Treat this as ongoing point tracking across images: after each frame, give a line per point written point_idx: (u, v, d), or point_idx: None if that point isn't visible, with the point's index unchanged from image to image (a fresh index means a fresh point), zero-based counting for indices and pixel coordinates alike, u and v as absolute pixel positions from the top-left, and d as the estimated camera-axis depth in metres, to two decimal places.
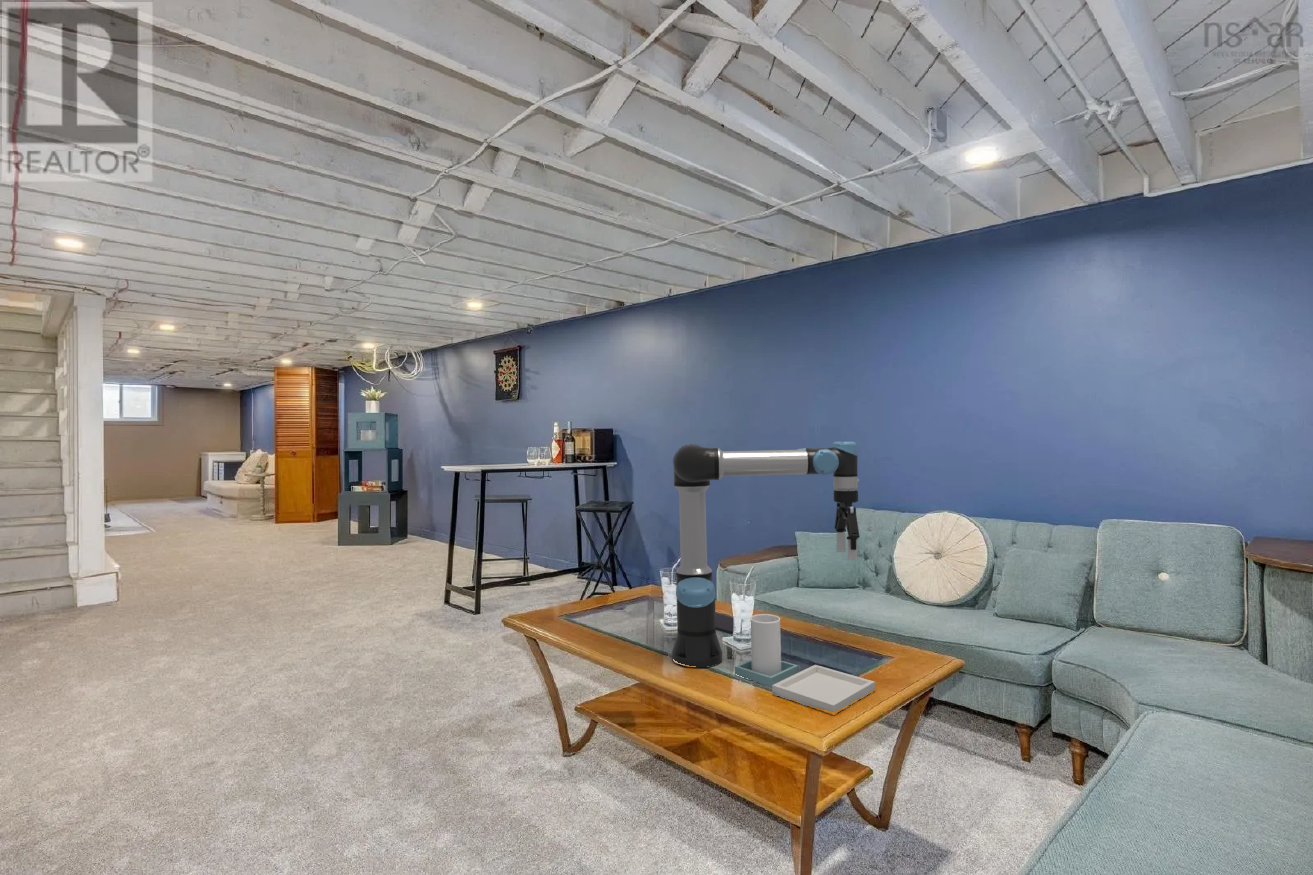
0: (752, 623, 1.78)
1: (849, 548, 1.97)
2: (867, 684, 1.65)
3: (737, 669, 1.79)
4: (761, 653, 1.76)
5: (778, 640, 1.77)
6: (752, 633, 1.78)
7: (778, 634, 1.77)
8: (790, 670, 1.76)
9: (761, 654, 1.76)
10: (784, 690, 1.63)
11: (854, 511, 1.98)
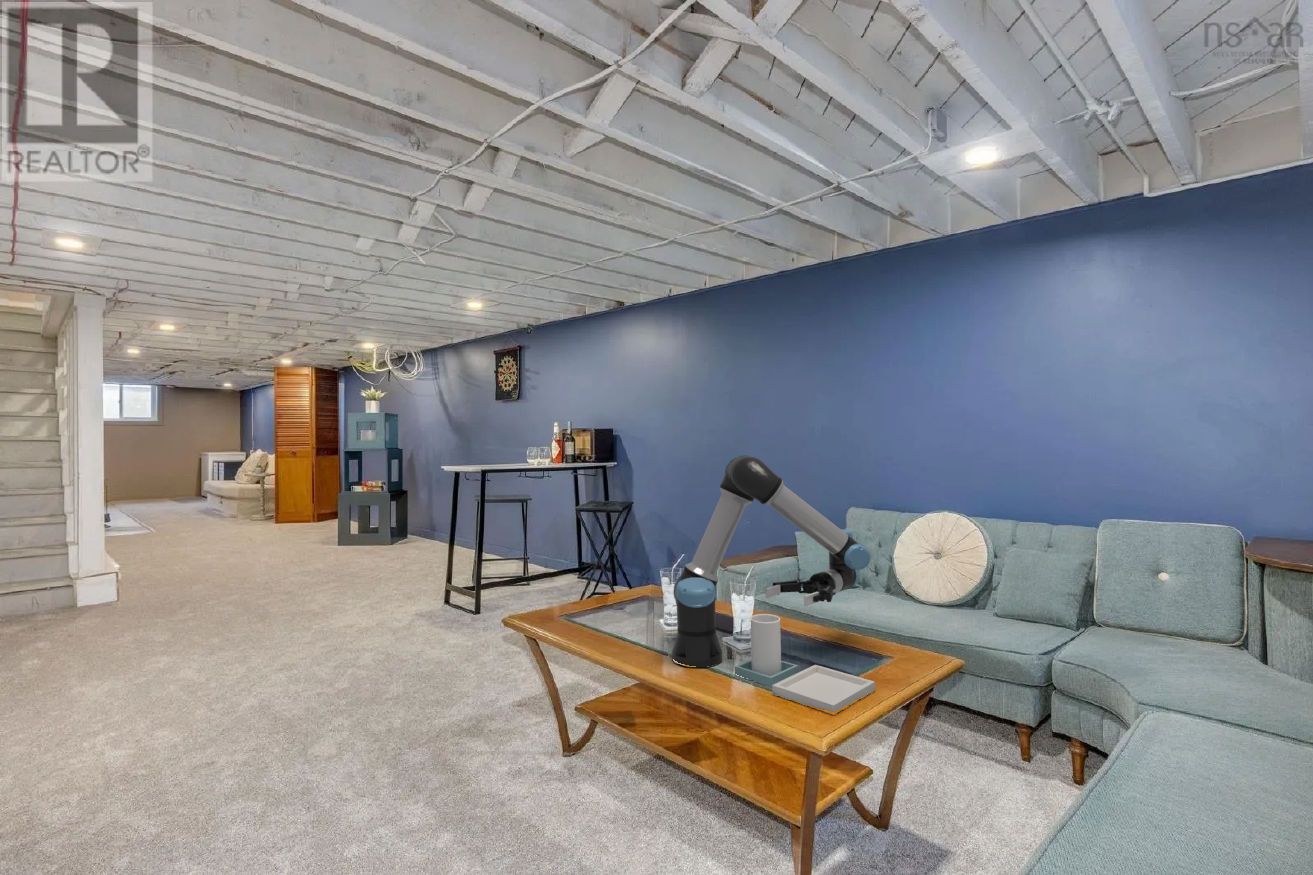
0: (752, 623, 1.78)
1: (813, 595, 1.83)
2: (867, 684, 1.65)
3: (737, 669, 1.79)
4: (761, 653, 1.76)
5: (778, 640, 1.77)
6: (752, 633, 1.78)
7: (778, 634, 1.77)
8: (790, 670, 1.76)
9: (761, 653, 1.76)
10: (784, 690, 1.63)
11: (834, 593, 1.91)
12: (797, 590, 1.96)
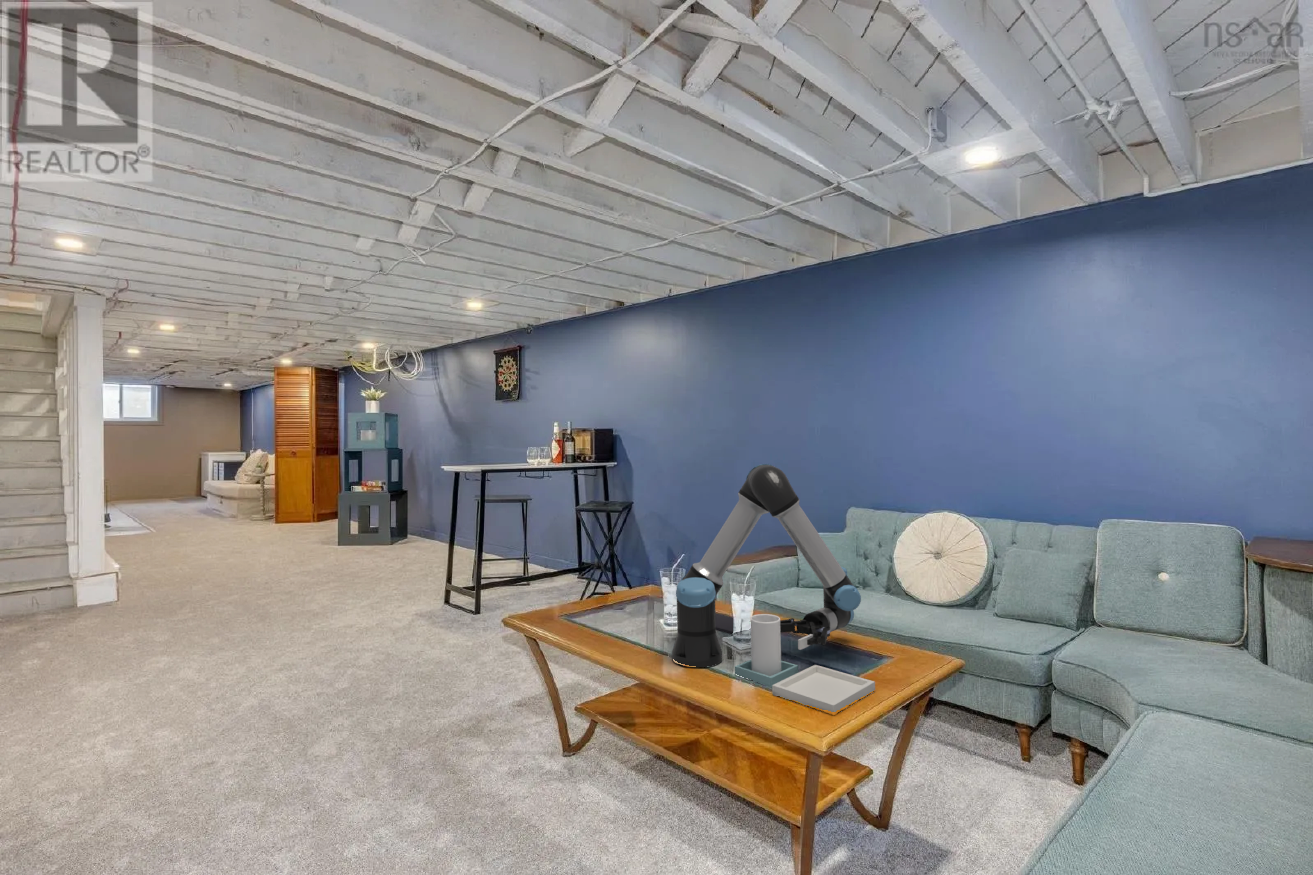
0: (752, 623, 1.78)
1: (807, 638, 1.80)
2: (867, 684, 1.65)
3: (737, 669, 1.79)
4: (761, 653, 1.76)
5: (778, 640, 1.77)
6: (752, 633, 1.78)
7: (778, 634, 1.77)
8: (790, 670, 1.76)
9: (761, 654, 1.76)
10: (784, 690, 1.63)
11: (828, 634, 1.88)
12: (791, 630, 1.93)
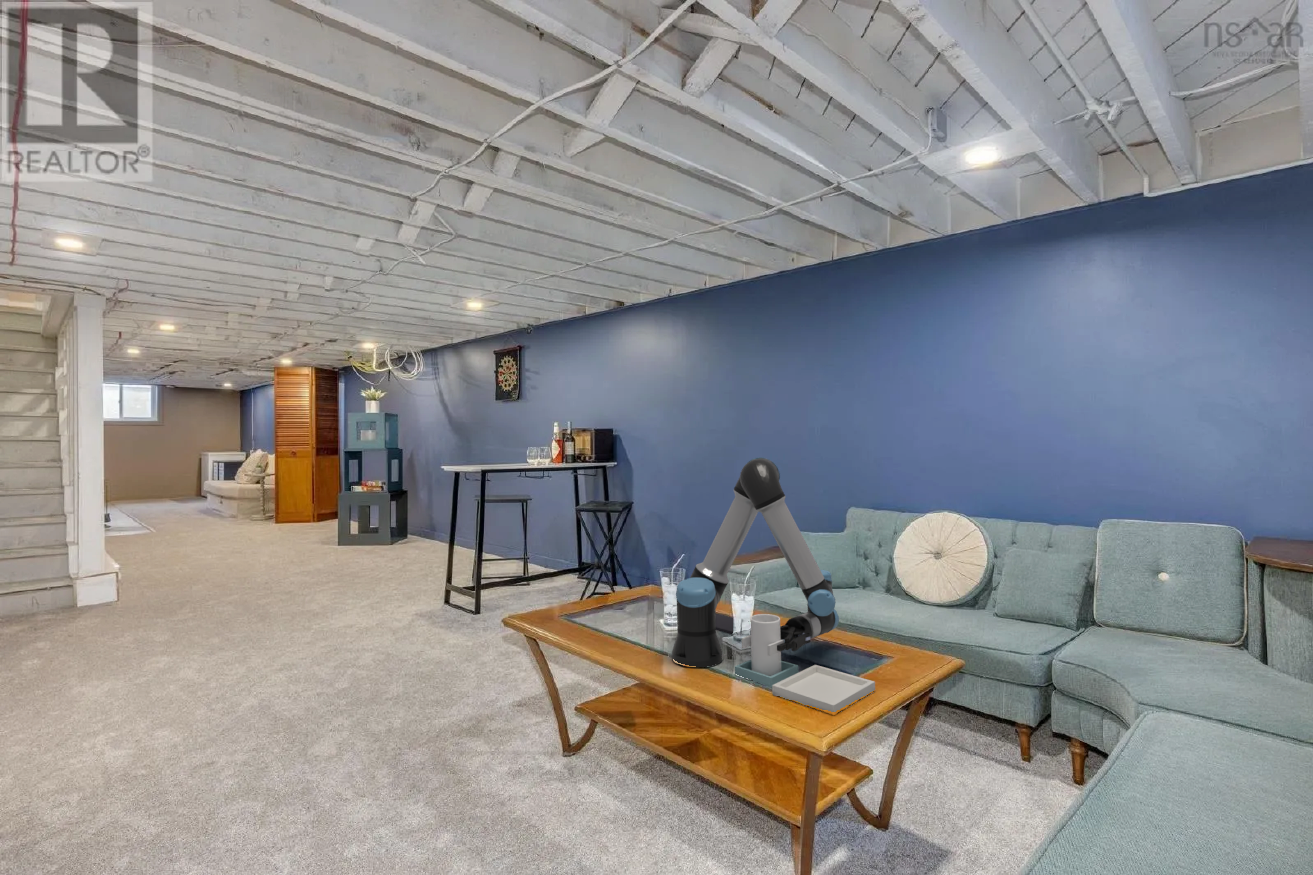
0: (752, 623, 1.78)
1: (777, 643, 1.75)
2: (867, 684, 1.65)
3: (737, 669, 1.79)
4: (761, 653, 1.76)
5: (778, 640, 1.77)
6: (752, 633, 1.78)
7: (778, 634, 1.77)
8: (790, 670, 1.76)
9: (761, 653, 1.76)
10: (784, 690, 1.63)
11: (807, 641, 1.82)
12: None
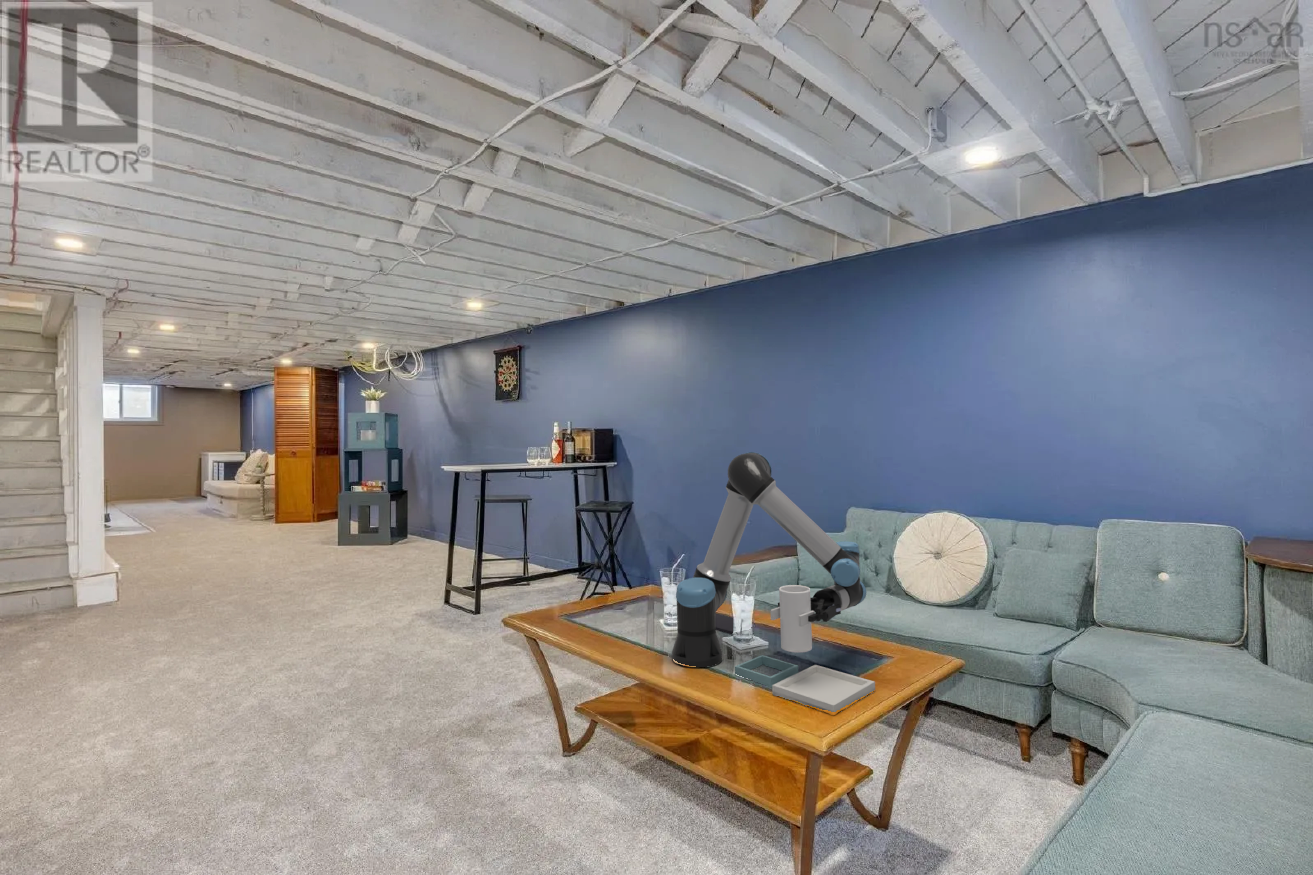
0: (781, 594, 1.72)
1: (808, 614, 1.69)
2: (867, 684, 1.65)
3: (737, 669, 1.79)
4: (791, 624, 1.70)
5: (809, 611, 1.71)
6: (781, 604, 1.72)
7: (809, 604, 1.71)
8: (790, 670, 1.76)
9: (792, 625, 1.70)
10: (784, 690, 1.63)
11: (838, 612, 1.76)
12: None
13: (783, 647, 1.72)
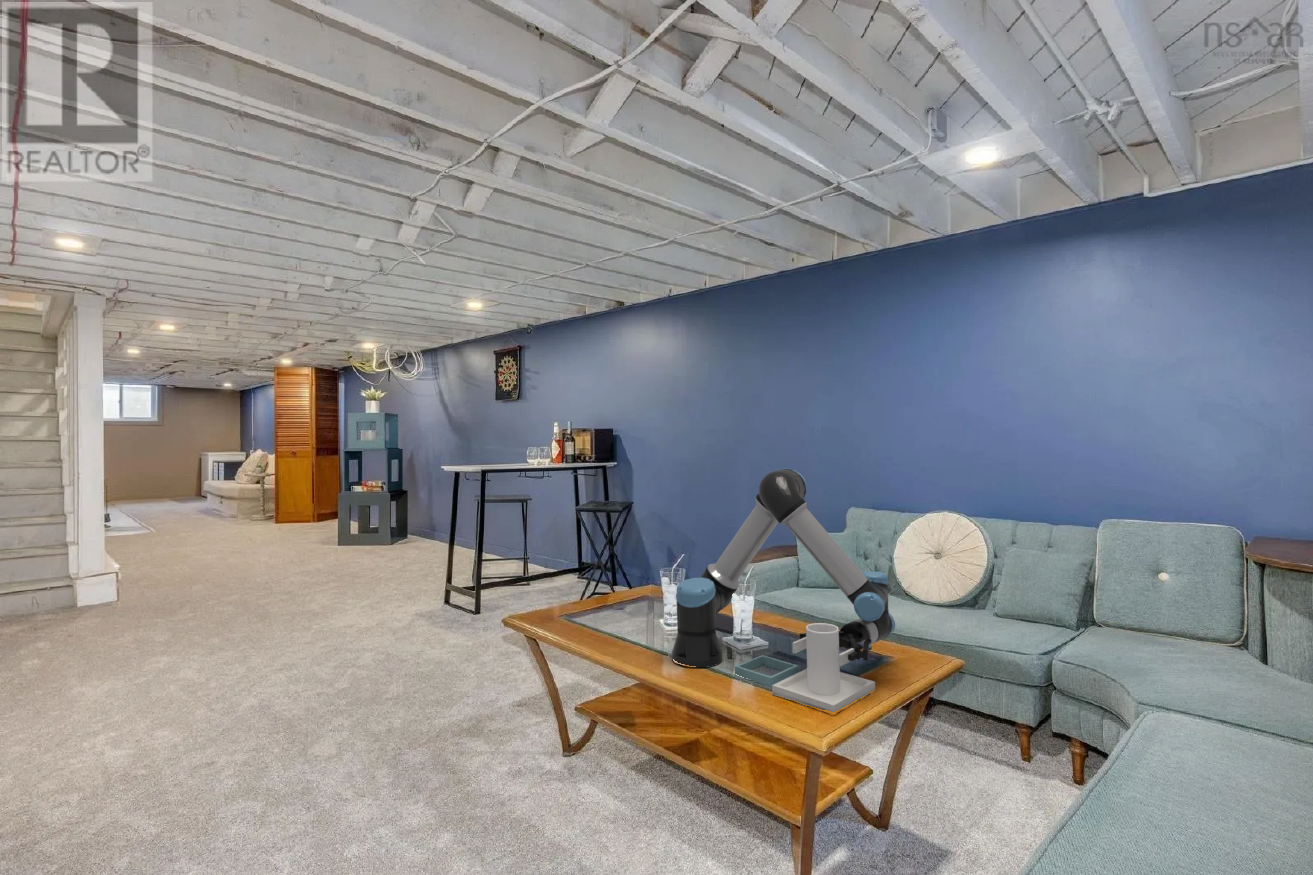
0: (808, 633, 1.65)
1: (848, 652, 1.61)
2: (867, 684, 1.65)
3: (737, 669, 1.79)
4: (819, 666, 1.62)
5: (837, 651, 1.63)
6: (808, 644, 1.65)
7: (837, 645, 1.63)
8: (790, 670, 1.76)
9: (819, 666, 1.62)
10: (784, 690, 1.63)
11: (870, 648, 1.69)
12: None
13: (810, 689, 1.65)
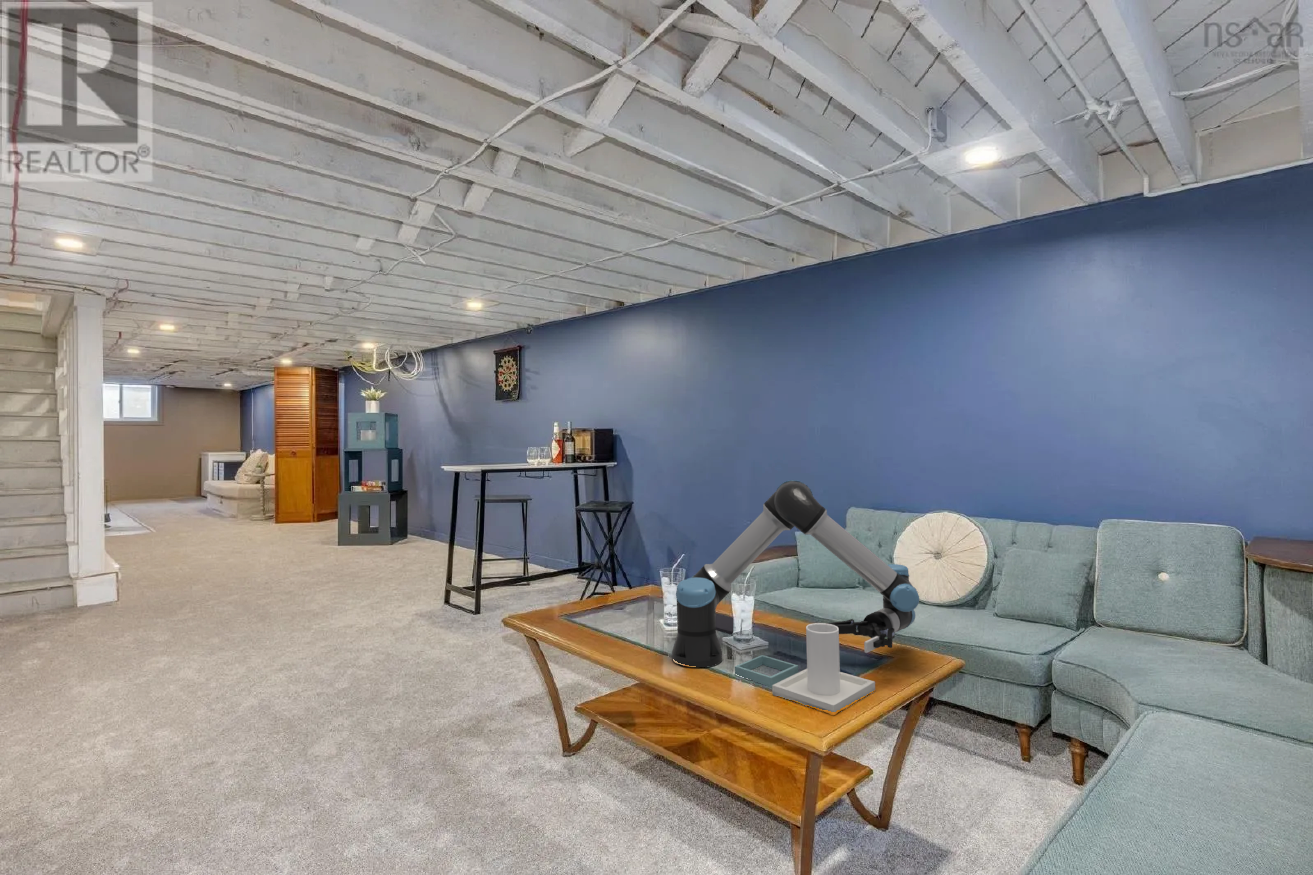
0: (808, 633, 1.65)
1: (873, 640, 1.70)
2: (867, 684, 1.65)
3: (737, 669, 1.79)
4: (819, 666, 1.62)
5: (837, 652, 1.63)
6: (808, 644, 1.65)
7: (837, 645, 1.63)
8: (790, 670, 1.76)
9: (819, 666, 1.62)
10: (784, 690, 1.63)
11: (893, 636, 1.78)
12: (852, 632, 1.83)
13: (810, 689, 1.65)
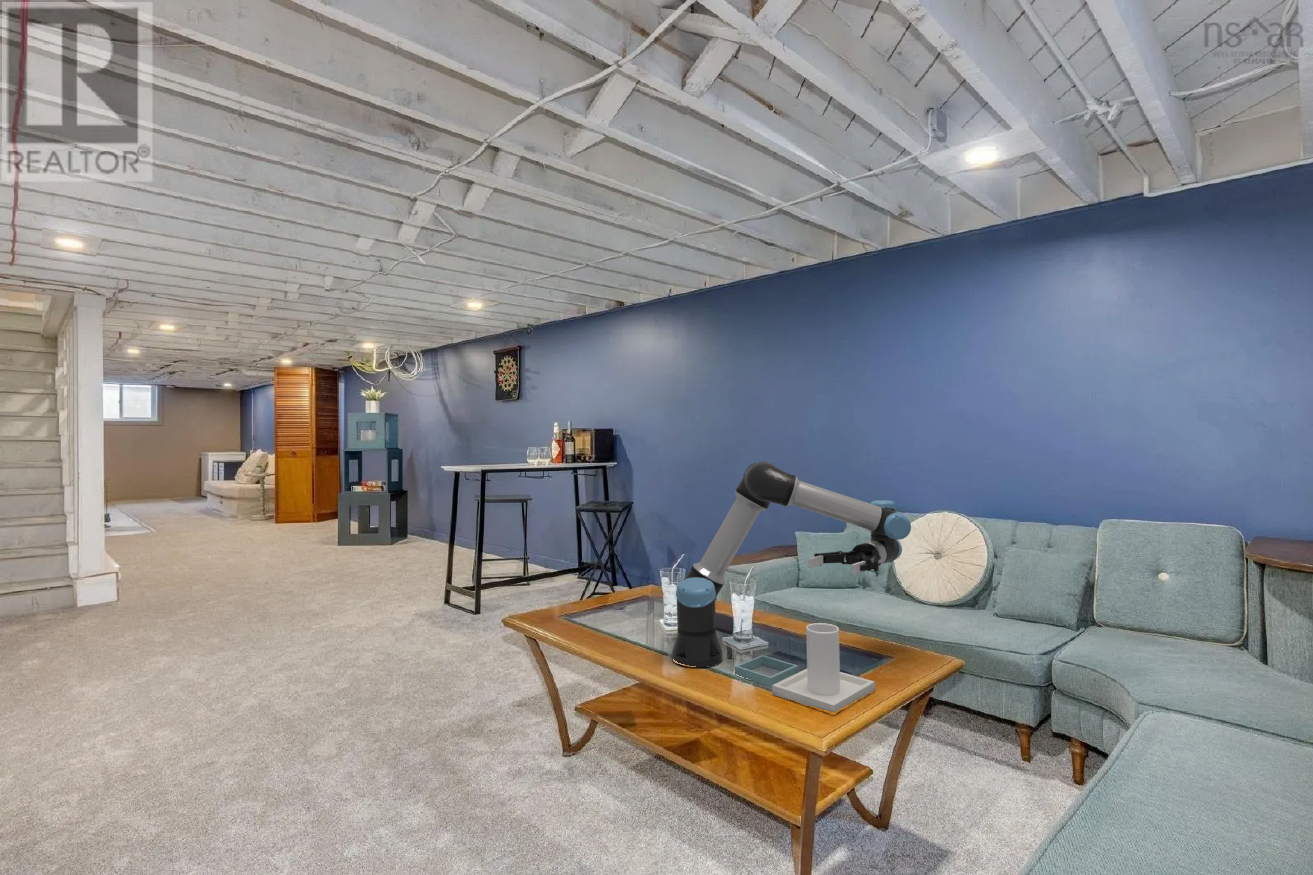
0: (809, 633, 1.65)
1: (860, 564, 1.77)
2: (867, 684, 1.65)
3: (737, 669, 1.79)
4: (819, 666, 1.62)
5: (837, 652, 1.63)
6: (809, 644, 1.65)
7: (837, 645, 1.63)
8: (790, 670, 1.76)
9: (819, 666, 1.62)
10: (784, 690, 1.63)
11: (879, 564, 1.85)
12: (840, 561, 1.90)
13: (810, 689, 1.65)
